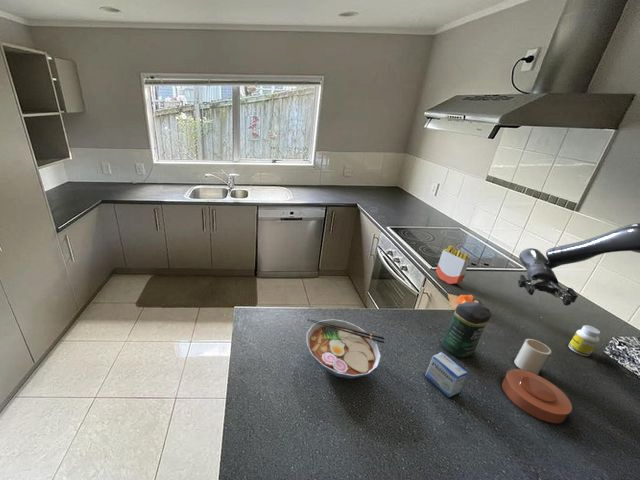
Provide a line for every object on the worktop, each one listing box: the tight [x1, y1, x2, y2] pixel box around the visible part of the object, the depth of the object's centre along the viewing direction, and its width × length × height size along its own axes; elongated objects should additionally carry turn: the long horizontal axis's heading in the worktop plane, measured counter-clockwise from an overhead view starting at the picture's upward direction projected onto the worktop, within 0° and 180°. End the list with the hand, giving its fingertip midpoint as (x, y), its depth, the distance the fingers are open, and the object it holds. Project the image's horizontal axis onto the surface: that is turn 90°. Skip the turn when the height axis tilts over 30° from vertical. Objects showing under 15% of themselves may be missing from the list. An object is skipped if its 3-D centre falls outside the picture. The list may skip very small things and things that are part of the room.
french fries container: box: [435, 245, 471, 285], centre depth 136 cm, size 5×11×18 cm, turn 21°
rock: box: [447, 292, 480, 310], centre depth 121 cm, size 12×12×4 cm
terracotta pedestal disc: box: [501, 368, 573, 424], centre depth 81 cm, size 14×14×4 cm
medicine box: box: [425, 352, 469, 398], centre depth 83 cm, size 8×4×9 cm, turn 23°
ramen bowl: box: [306, 318, 385, 379], centre depth 90 cm, size 25×23×8 cm
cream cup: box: [513, 338, 552, 375], centre depth 91 cm, size 6×6×9 cm
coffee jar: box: [441, 301, 492, 358], centre depth 95 cm, size 10×8×19 cm
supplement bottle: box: [568, 324, 601, 357], centre depth 98 cm, size 5×5×10 cm
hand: (549, 297), depth 92 cm, fingers open, 8 cm apart
